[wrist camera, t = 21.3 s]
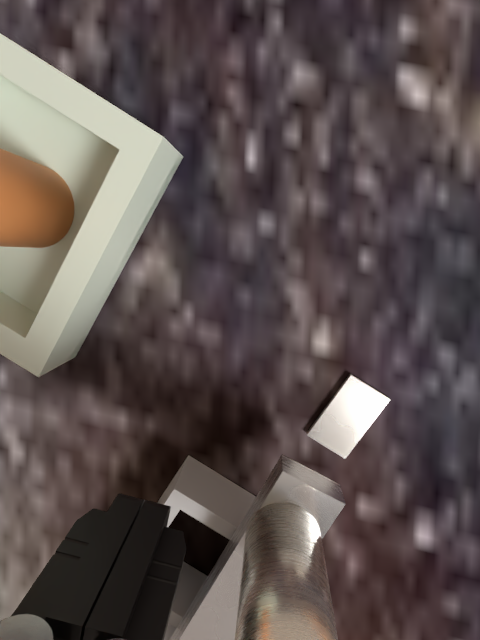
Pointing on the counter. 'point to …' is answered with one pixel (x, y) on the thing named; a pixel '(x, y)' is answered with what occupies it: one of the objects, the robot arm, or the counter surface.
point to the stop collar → (202, 518)
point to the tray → (89, 206)
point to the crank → (272, 566)
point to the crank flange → (342, 422)
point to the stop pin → (32, 203)
